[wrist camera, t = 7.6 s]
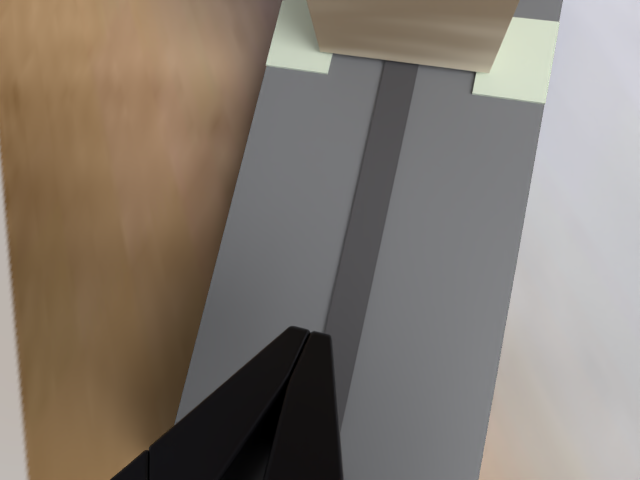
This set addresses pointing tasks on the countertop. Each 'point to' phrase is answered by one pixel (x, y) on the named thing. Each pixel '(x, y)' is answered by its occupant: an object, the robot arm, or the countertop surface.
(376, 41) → the wooden rectangular block
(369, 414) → the grooved grey tray
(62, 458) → the countertop surface
